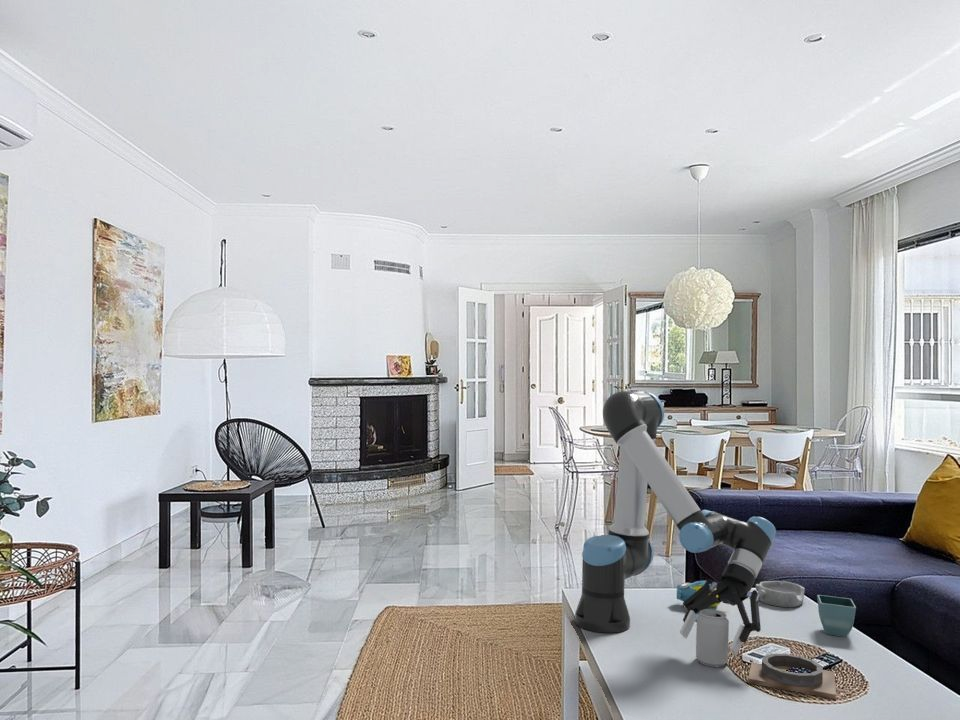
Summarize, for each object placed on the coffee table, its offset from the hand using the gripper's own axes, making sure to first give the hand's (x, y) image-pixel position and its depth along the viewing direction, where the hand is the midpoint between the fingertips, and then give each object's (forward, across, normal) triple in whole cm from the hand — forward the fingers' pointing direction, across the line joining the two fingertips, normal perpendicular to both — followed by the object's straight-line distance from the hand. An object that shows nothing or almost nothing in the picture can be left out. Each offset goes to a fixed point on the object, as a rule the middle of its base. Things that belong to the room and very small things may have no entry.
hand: (707, 643), depth 179 cm
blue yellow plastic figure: (-23, +26, -31) cm, 46 cm away
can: (+2, 0, -5) cm, 6 cm away
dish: (-42, +15, -49) cm, 66 cm away
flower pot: (-31, -9, -38) cm, 50 cm away
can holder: (-2, -17, -9) cm, 19 cm away
